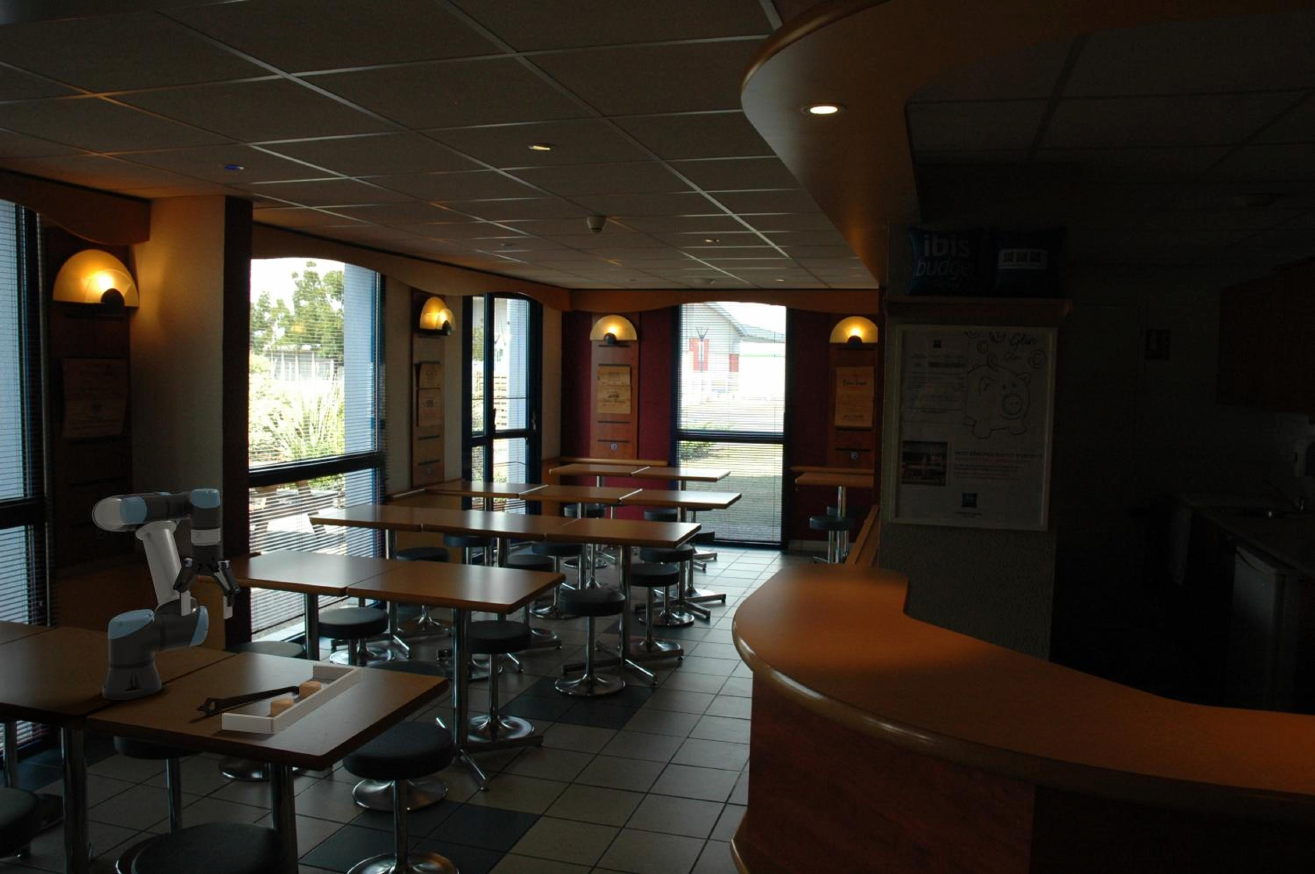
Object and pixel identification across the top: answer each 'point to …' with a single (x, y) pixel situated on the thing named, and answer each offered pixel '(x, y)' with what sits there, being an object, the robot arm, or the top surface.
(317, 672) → the chip tray
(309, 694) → the puck
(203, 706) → the black hooked stick
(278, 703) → the puck
